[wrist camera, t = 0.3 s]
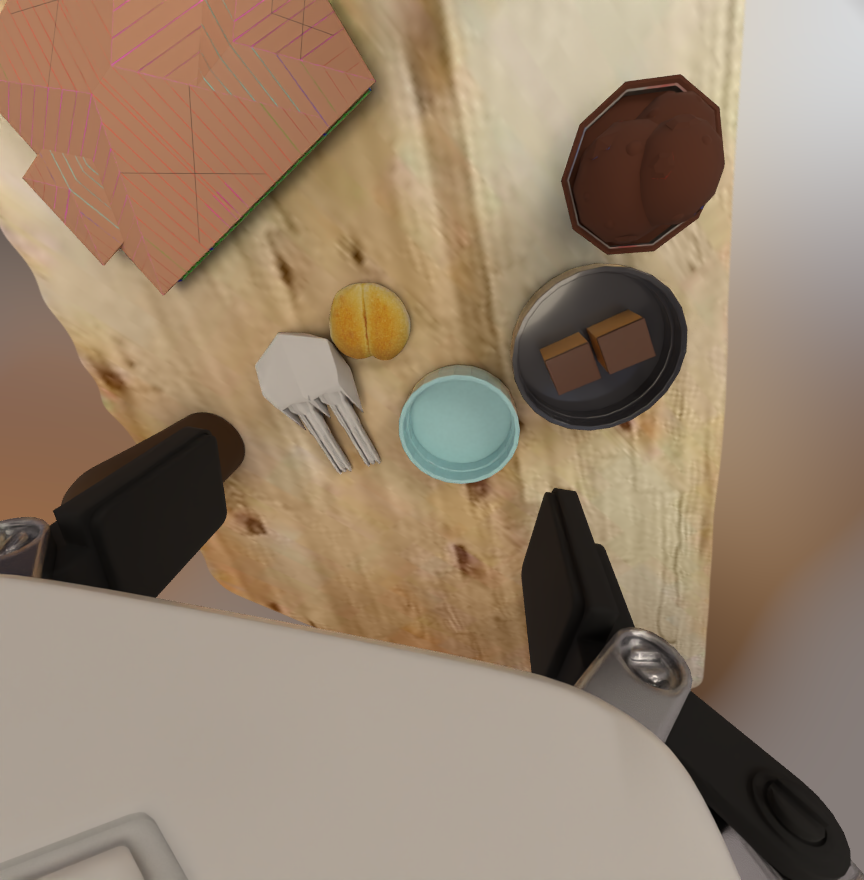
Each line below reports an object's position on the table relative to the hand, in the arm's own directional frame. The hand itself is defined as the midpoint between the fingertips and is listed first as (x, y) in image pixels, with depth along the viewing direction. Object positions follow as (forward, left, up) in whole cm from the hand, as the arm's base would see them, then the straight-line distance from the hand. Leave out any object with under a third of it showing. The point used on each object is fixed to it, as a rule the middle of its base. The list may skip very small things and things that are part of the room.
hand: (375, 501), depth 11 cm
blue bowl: (+13, -6, -37) cm, 39 cm away
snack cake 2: (+11, +13, -36) cm, 40 cm away
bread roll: (-2, -10, -37) cm, 38 cm away
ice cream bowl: (-3, +17, -37) cm, 41 cm away
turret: (+4, -20, -37) cm, 42 cm away
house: (-28, -16, -37) cm, 49 cm away
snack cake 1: (+11, +8, -36) cm, 39 cm away
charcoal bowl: (+11, +11, -37) cm, 40 cm away
